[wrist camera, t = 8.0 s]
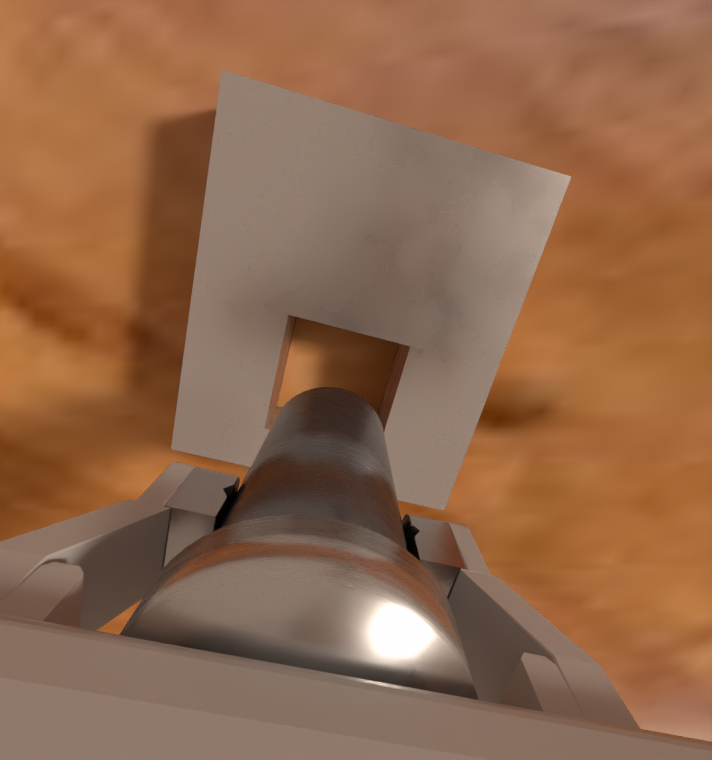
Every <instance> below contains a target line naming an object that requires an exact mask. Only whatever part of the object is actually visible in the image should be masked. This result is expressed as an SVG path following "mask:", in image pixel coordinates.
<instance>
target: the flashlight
mask: <svg viewBox="0 0 712 760" xmlns="http://www.w3.org/2000/svg"><path fill="white" fill-rule="evenodd" d="M120 635H122V636H127V637H133V638H139V639H144V640H150V641H155V642H161V643H166V644H172V645H177V646H183V647H188V648H194V649H199V650H205V651H211V652H216V653H222V654H227V655H233V656H238V657H244V658H250V659H255V660H261V661H266V662H272V663H277V664H283V665H289V666H294V667H300V668H305V669H311V670H316V671H322V672H328V673H333V674H339V675H344V676H350V677H356V678H361V679H367V680H372V681H378V682H383V683H389V684H394V685H400V686H405V687H411V688H416V689H422V690H427V691H433V692H438V693H443V694H449V695H454V696H460V697H465V698H471V699H476V700H479V699H478V695H477V692H476V689H475V685H474V682H473V679H472V675H471V672H470V669H469V665H468V662H467V658H466V655H465V652H464V648H463V645H462V642H461V638H460V635H459V632H458V628H457V625H456V622H455V618H454V615H453V612H452V609H451V607H450V604H449V601H448V599H447V597H446V595H445V593H444V592H443V590H442V588H441V586H440V584H439V583H438V582H437V580H436V579H435V578H434V577H433V575H432V574H431V573H430V571H429V570H428V569H427V568H426V567H425V566H424V565H423V564H422V563H421V562H420V561H419V560H418V559H417V558H416V557H415V556H413V555H412V554H411V553H409V552H408V550H407V545H406V540H405V535H404V531H403V526H402V521H401V516H400V511H399V506H398V501H397V496H396V491H395V486H394V481H393V476H392V471H391V466H390V461H389V456H388V451H387V446H386V442H385V437H384V432H383V427H382V424H381V421H380V419H379V417H378V415H377V413H376V412H375V410H374V409H373V408H372V407H371V406H370V405H369V403H368V402H366V401H365V400H364V399H363V398H361V397H360V396H358V395H356V394H354V393H352V392H350V391H347V390H344V389H340V388H334V387H320V388H315V389H310V390H307V391H304V392H302V393H300V394H298V395H297V396H295V397H294V398H292V399H291V400H290V401H289V402H287V403H286V404H285V406H284V407H283V408H282V409H281V411H280V412H279V414H278V415H277V417H276V419H275V421H274V423H273V425H272V427H271V429H270V431H269V433H268V435H267V437H266V438H265V440H264V442H263V444H262V446H261V448H260V450H259V452H258V454H257V456H256V458H255V460H254V462H253V464H252V465H251V467H250V469H249V471H248V473H247V475H246V477H245V479H244V481H243V483H242V485H241V487H240V489H239V491H238V492H237V494H236V496H235V498H234V500H233V502H232V504H231V506H230V508H229V510H228V512H227V514H226V516H225V518H224V519H223V521H222V523H221V525H220V527H219V529H218V530H216V531H214V532H211V533H209V534H207V535H205V536H203V537H201V538H200V539H198V540H197V541H195V542H193V543H192V544H190V545H189V546H187V547H186V548H184V549H183V550H182V551H181V552H180V553H178V554H177V555H176V556H175V557H174V558H173V559H171V560H170V562H169V563H168V564H167V565H166V566H165V567H164V568H163V570H162V571H161V572H160V573H159V574H158V576H157V577H156V579H155V580H154V582H153V583H152V585H151V587H150V588H149V590H148V591H147V593H146V594H145V596H144V597H143V599H142V601H141V602H140V604H139V605H138V607H137V608H136V610H135V612H134V613H133V615H132V616H131V618H130V619H129V621H128V622H127V624H126V626H125V627H124V629H123V630H122V632H121V633H120Z"/></svg>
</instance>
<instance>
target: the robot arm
mask: <svg viewBox="0 0 712 760" xmlns="http://www.w3.org/2000/svg"><path fill="white" fill-rule="evenodd" d="M239 482H240V480H239V477H237V476H233V475H229V474H225V473H221V472H216V471H212V470H208V469H204V468H200V467H196V466H192V465H187V464H182V463H177V462H175V463H172V464H170V465H169V467H168V468H167V469H166V470H165V471H164V472H163V473H162V474H161V475H160V476H159V477H158V478H157V479H156V480H155V481H154V482H153V483H152V484H151V485H150V486H149V488H148V489H147V490H146V491H145V492H144V493H143V494H142V495H141V496H140V497H139V498H138V499H137V500H131V499H128V500H125V501H122V502H119V503H116V504H113V505H110V506H107V507H104V508H101V509H98V510H95V511H92V512H89V513H86V514H83V515H80V516H77V517H74V518H71V519H67V520H64V521H61V522H58V523H55V524H52V525H49V526H46V527H43V528H40V529H37V530H34V531H31V532H28V533H25V534H22V535H19V536H16V537H13V538H10V539H7V540H4V541H1V542H0V760H712V742H710V741H704V740H698V739H693V738H687V737H682V736H676V735H671V734H665V733H660V732H654V731H649V730H643V729H640V728H639V726H638V724H637V723H636V721H635V720H634V718H633V716H632V715H631V713H630V712H629V710H628V709H627V707H626V705H625V704H624V702H623V701H622V699H621V698H620V696H619V694H618V693H617V691H616V690H615V688H614V686H613V685H612V683H611V682H610V680H609V679H608V677H607V675H606V674H605V672H604V671H603V669H602V667H601V666H600V665H599V664H598V663H597V662H596V661H594V660H593V659H592V658H591V657H590V656H589V655H587V654H586V653H585V652H584V651H583V650H582V649H581V648H579V647H578V646H577V645H576V644H575V643H574V642H572V641H571V640H570V639H569V638H568V637H567V636H566V635H564V634H563V633H562V632H561V631H560V630H559V629H557V628H556V627H555V626H554V625H553V624H552V623H551V622H549V621H548V620H547V619H546V618H545V617H544V616H542V615H541V614H540V613H539V612H538V611H537V610H536V609H534V608H533V607H532V606H531V605H530V604H529V603H527V602H526V601H525V600H524V599H523V598H522V597H521V596H519V595H518V594H517V593H516V592H515V591H514V590H512V589H511V588H510V587H509V586H508V585H507V584H506V583H504V582H503V581H502V580H501V579H500V578H499V577H497V576H494V575H491V574H490V572H489V570H488V568H487V566H486V564H485V562H484V559H483V557H482V555H481V553H480V551H479V549H478V547H477V545H476V542H475V540H474V538H473V536H472V534H471V532H470V530H469V528H468V527H467V526H466V525H462V524H456V523H451V522H444V521H439V520H434V519H429V518H423V517H418V516H413V515H408V514H405V516H404V518H403V520H402V526H403V531H404V535H405V540H406V545H407V550H408V552H409V553H411V554H412V555H413V556H415V557H416V558H417V559H418V560H419V561H420V562H421V563H422V564H423V565H424V566H425V567H426V568H427V569H428V570H429V571H430V573H431V574H432V575H433V577H434V578H435V579H436V580H437V582H438V583H439V584H440V586H441V588H442V590H443V592H444V593H445V595H446V597H447V599H448V601H449V604H450V607H451V609H452V612H453V615H454V618H455V622H456V625H457V628H458V632H459V635H460V638H461V642H462V645H463V648H464V652H465V655H466V658H467V662H468V665H469V669H470V672H471V675H472V679H473V682H474V685H475V689H476V692H477V695H478V699H479V700H476V699H471V698H465V697H460V696H454V695H449V694H443V693H438V692H433V691H427V690H422V689H416V688H411V687H405V686H400V685H394V684H389V683H383V682H378V681H372V680H367V679H361V678H356V677H350V676H344V675H339V674H333V673H328V672H322V671H316V670H311V669H305V668H300V667H294V666H289V665H283V664H277V663H272V662H266V661H261V660H255V659H250V658H244V657H238V656H233V655H227V654H222V653H216V652H211V651H205V650H199V649H194V648H188V647H183V646H177V645H172V644H166V643H161V642H155V641H150V640H144V639H139V638H133V637H127V636H122V635H116V634H111V633H105V632H100V631H96V630H98V629H99V628H101V627H102V626H104V625H105V624H106V623H108V622H109V621H111V620H112V619H114V618H115V617H117V616H118V615H119V614H121V613H122V612H124V611H125V610H127V609H128V608H129V607H131V606H132V605H134V604H135V603H137V602H138V601H140V600H141V599H142V598H143V597H144V596H145V594H146V593H147V591H148V590H149V588H150V587H151V585H152V583H153V582H154V580H155V579H156V577H157V576H158V574H159V573H160V572H161V571H162V570H163V568H164V567H165V566H166V565H167V564H168V563H169V562H170V560H171V559H173V558H174V557H175V556H176V555H177V554H178V553H180V552H181V551H182V550H183V549H184V548H186V547H187V546H189V545H190V544H192V543H193V542H195V541H197V540H198V539H200V538H201V537H203V536H205V535H207V534H209V533H211V532H214V531H216V530H218V529H219V527H220V525H221V523H222V521H223V519H224V518H225V516H226V514H227V512H228V510H229V508H230V506H231V504H232V502H233V500H234V498H235V496H236V494H237V492H238V487H239Z"/></svg>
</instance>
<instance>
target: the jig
mask: <svg viewBox="0 0 712 760" xmlns="http://www.w3.org/2000/svg"><path fill="white" fill-rule="evenodd" d="M570 179H571V177H570V176H567V175H564V174H560V173H557V172H554V171H551V170H547V169H544V168H541V167H538V166H534V165H531V164H528V163H525V162H521V161H518V160H515V159H512V158H508V157H505V156H502V155H499V154H495V153H492V152H489V151H485V150H482V149H479V148H476V147H472V146H469V145H466V144H463V143H459V142H456V141H453V140H450V139H446V138H443V137H440V136H437V135H433V134H430V133H427V132H424V131H420V130H417V129H414V128H411V127H407V126H404V125H401V124H398V123H394V122H391V121H388V120H384V119H381V118H378V117H375V116H371V115H368V114H365V113H362V112H358V111H355V110H352V109H349V108H345V107H342V106H339V105H336V104H332V103H329V102H326V101H323V100H319V99H316V98H313V97H310V96H306V95H303V94H300V93H296V92H293V91H290V90H287V89H283V88H280V87H277V86H274V85H270V84H267V83H264V82H261V81H257V80H254V79H251V78H248V77H244V76H241V75H238V74H235V73H231V72H228V71H225V70H222V73H221V80H220V88H219V95H218V102H217V110H216V117H215V125H214V132H213V140H212V147H211V154H210V162H209V169H208V177H207V184H206V192H205V199H204V206H203V214H202V221H201V229H200V236H199V244H198V251H197V259H196V266H195V273H194V281H193V288H192V296H191V303H190V311H189V318H188V325H187V333H186V340H185V348H184V355H183V363H182V370H181V377H180V385H179V392H178V400H177V407H176V415H175V422H174V430H173V437H172V444H171V449H172V450H177V451H181V452H186V453H190V454H195V455H199V456H204V457H208V458H213V459H217V460H221V461H226V462H230V463H235V464H239V465H244V466H248V467H251V465H252V464H253V462H254V460H255V458H256V456H257V454H258V452H259V450H260V448H261V446H262V444H263V442H264V440H265V438H266V437H267V435H268V433H269V431H270V429H271V427H272V425H273V423H274V421H275V419H276V417H277V415H278V414H279V412H280V411H281V409H282V408H281V407H277V402H278V398H279V393H280V388H281V384H282V379H283V374H284V370H285V365H286V360H287V356H288V351H289V346H290V342H291V337H292V333H293V328H294V323H295V319H296V317H299V318H303V319H307V320H311V321H314V322H318V323H322V324H326V325H330V326H334V327H338V328H342V329H345V330H349V331H353V332H357V333H361V334H365V335H369V336H372V337H376V338H380V339H384V340H388V341H392V342H396V343H400V344H399V347H398V350H397V354H396V357H395V360H394V364H393V367H392V370H391V374H390V377H389V381H388V384H387V387H386V391H385V394H384V397H383V401H382V404H381V407H380V411H379V414H378V417H379V419H380V421H381V424H382V427H383V432H384V437H385V442H386V446H387V451H388V456H389V461H390V466H391V471H392V476H393V481H394V486H395V491H396V496H397V500H400V501H404V502H409V503H413V504H418V505H422V506H427V507H431V508H436V509H440V510H444V509H445V507H446V504H447V501H448V499H449V496H450V493H451V491H452V488H453V486H454V483H455V480H456V478H457V475H458V472H459V470H460V467H461V465H462V462H463V459H464V457H465V454H466V451H467V449H468V446H469V444H470V441H471V438H472V436H473V433H474V430H475V428H476V425H477V423H478V420H479V417H480V415H481V412H482V409H483V407H484V404H485V402H486V399H487V396H488V394H489V391H490V388H491V386H492V383H493V381H494V378H495V375H496V373H497V370H498V367H499V365H500V362H501V360H502V357H503V354H504V352H505V349H506V346H507V344H508V341H509V339H510V336H511V333H512V331H513V328H514V325H515V323H516V320H517V318H518V315H519V312H520V310H521V307H522V304H523V302H524V299H525V297H526V294H527V291H528V289H529V286H530V283H531V281H532V278H533V276H534V273H535V270H536V268H537V265H538V262H539V260H540V257H541V255H542V252H543V249H544V247H545V244H546V241H547V239H548V236H549V234H550V231H551V228H552V226H553V223H554V220H555V218H556V215H557V213H558V210H559V207H560V205H561V202H562V199H563V197H564V194H565V192H566V189H567V186H568V184H569V181H570Z"/></svg>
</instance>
